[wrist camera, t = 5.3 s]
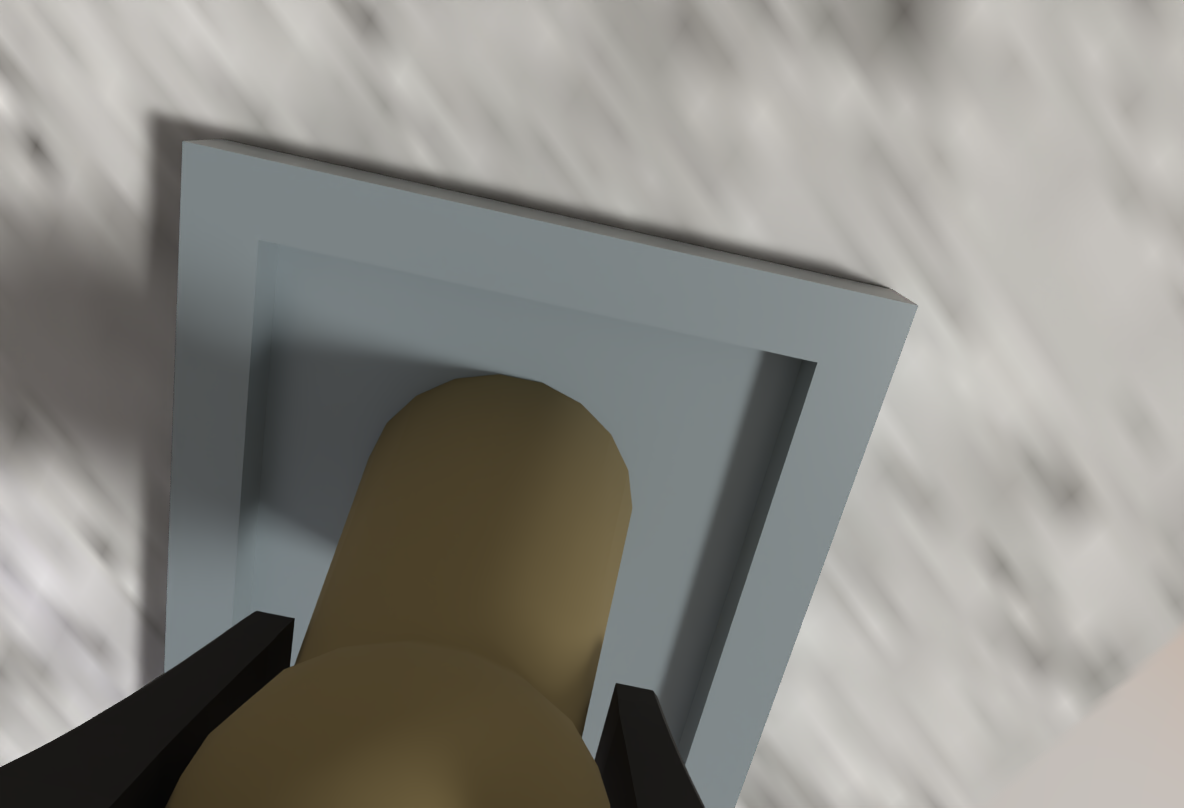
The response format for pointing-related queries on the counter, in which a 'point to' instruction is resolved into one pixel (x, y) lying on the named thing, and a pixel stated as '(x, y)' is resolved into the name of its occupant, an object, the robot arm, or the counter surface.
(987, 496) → the counter surface
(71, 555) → the counter surface
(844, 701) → the counter surface
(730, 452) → the tray
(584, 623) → the pepper shaker
